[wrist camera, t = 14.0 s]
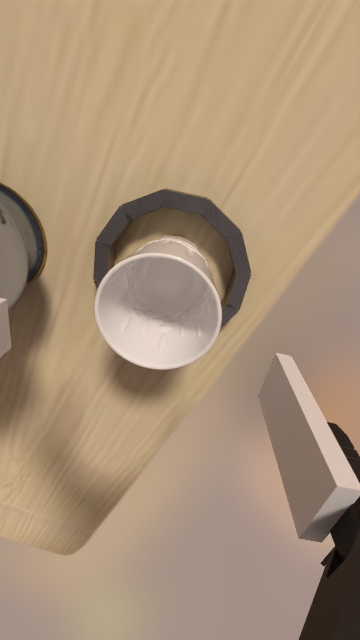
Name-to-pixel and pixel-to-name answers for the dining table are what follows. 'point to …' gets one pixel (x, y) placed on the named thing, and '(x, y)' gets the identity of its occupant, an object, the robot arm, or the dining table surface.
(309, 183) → the dining table surface
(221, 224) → the collar ring
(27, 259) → the apothecary jar
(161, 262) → the white cup
